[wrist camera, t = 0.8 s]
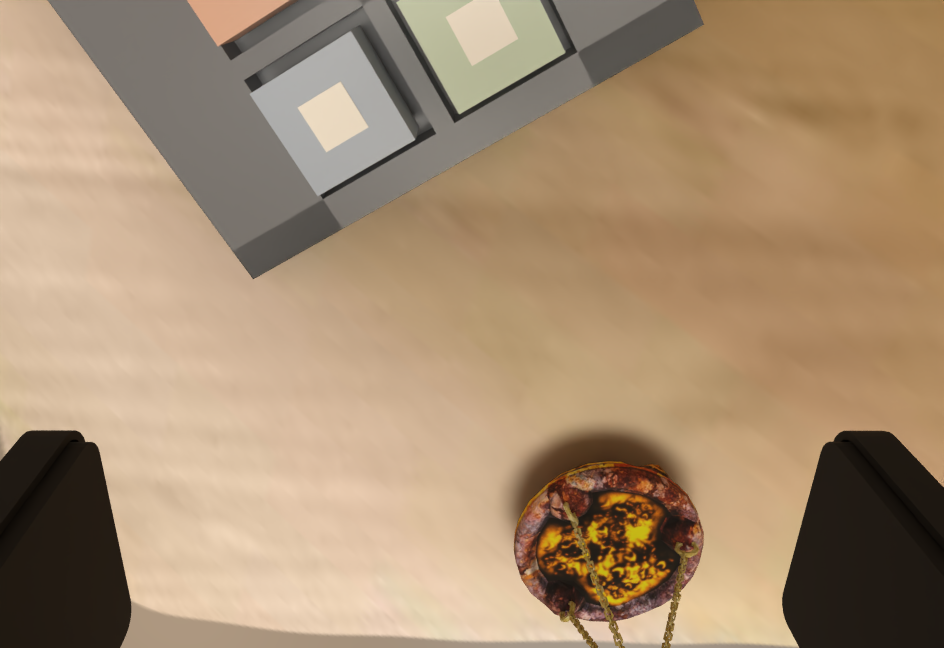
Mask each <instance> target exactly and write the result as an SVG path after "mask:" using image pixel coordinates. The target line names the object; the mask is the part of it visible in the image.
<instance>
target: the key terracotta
mask: <svg viewBox="0 0 944 648" xmlns="http://www.w3.org/2000/svg"><path fill="white" fill-rule="evenodd" d="M187 1H188V3H189V4H190V6H191V7H192V9H193V10H194V12H195V13H196V15H197V16H198V18H199V19H200V21H201V22H202V24H203V25H204V27H205V28H206V30H207V31H208V33H209V34H210V36H211V37H212V39H213V40H214V42H215V43H216V45H217V46H221V45H224V44H226V43H229V42H232V41H235V40H237V39H239V38H240V37H242V36H244V35H245V34H247V33H248V32H250V31H251V30H253V29H254V28H256V27H257V26H259V25H261V24H262V23H264V22H265V21H267V20H268V19H270V18H271V17H273V16H275V15H276V14H278V13H279V12H281V11H282V10H284V9H285V8H287V7H289V6H290V5H292V4H293V3H295V2H296V1H298V0H187Z"/></svg>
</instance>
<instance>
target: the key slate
mask: <svg viewBox="0 0 944 648" xmlns="http://www.w3.org/2000/svg"><path fill="white" fill-rule="evenodd" d="M250 96H251V97H252V99H253V100H254V102H255V103H256V105H257V106H258V108H259V109H260V111H261V112H262V114H263V115H264V117H265V118H266V120H267V121H268V123H269V124H270V126H271V127H272V129H273V130H274V132H275V133H276V135H277V136H278V138H279V139H280V141H281V142H282V144H283V145H284V147H285V148H286V150H287V151H288V153H289V154H290V156H291V157H292V159H293V160H294V162H295V163H296V165H297V166H298V168H299V169H300V171H301V172H302V174H303V175H304V177H305V178H306V180H307V181H308V183H309V184H310V186H311V187H312V189H313V190H314V192H315V193H316V195H317V196H319V195H321V194H323V193H324V192H326V191H328V190H330V189H331V188H333V187H335V186H336V185H338V184H340V183H342V182H343V181H345V180H347V179H349V178H350V177H352V176H354V175H355V174H357V173H359V172H361V171H362V170H364V169H366V168H368V167H369V166H371V165H373V164H374V163H376V162H378V161H380V160H381V159H383V158H385V157H387V156H388V155H390V154H392V153H393V152H395V151H397V150H399V149H400V148H402V147H404V146H406V145H407V144H409V143H411V142H412V141H414V140H415V139H416V136H417V132H418V128H419V125H418V124H417V122H416V120H415V118H414V117H413V115H412V113H411V112H410V110H409V108H408V107H407V105H406V103H405V101H404V100H403V98H402V96H401V95H400V93H399V91H398V89H397V88H396V86H395V84H394V83H393V81H392V79H391V78H390V76H389V74H388V72H387V71H386V69H385V67H384V66H383V64H382V62H381V60H380V59H379V57H378V55H377V54H376V52H375V50H374V49H373V47H372V45H371V43H370V42H369V40H368V38H367V37H366V35H365V33H364V32H363V30H362V28H361V26H360V25H359V26H358V27H356V28H354V29H353V30H351V31H349V32H348V33H346V34H345V35H343V36H341V37H340V38H338V39H337V40H335V41H333V42H332V43H330V44H329V45H327V46H325V47H324V48H322V49H321V50H319V51H317V52H316V53H314V54H313V55H311V56H309V57H308V58H306V59H305V60H303V61H301V62H300V63H298V64H297V65H295V66H293V67H292V68H290V69H289V70H287V71H285V72H284V73H282V74H281V75H279V76H277V77H276V78H274V79H273V80H271V81H269V82H268V83H266V84H265V85H263V86H261V87H260V88H258V89H257V90H255V91H254V92H252V93H250Z"/></svg>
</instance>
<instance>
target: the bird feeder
mask: <svg viewBox="0 0 944 648" xmlns="http://www.w3.org/2000/svg"><path fill="white" fill-rule="evenodd" d="M703 539H704V532H703V529H702V526H701V523H700V520H699V516H698V513H697V510H696V508H695V507H694V505H693V503H692V502H691V500H690V498H689V496H688V495H687V494H686V493H685V492H684V491H683V490H682V489H681V488H680V487H679V486H678V485H677V484H675V483H674V482H673V481H671V479H670V478H669V477H668V475H667V474H666V473H665V471H664V470H663V469H662V468H661V467H660V466H659V465H654V464H649V465H644V466H640V467H637V466H633V465H629V464H625V463H623V462H611V461H607V462H598V463H589V464H585V465H583V466H580V467H577V468H575V469H572V470H570V471H567V472H564V473H562V474H560V475H559V476H557V477H556V478H555V479H554V480H552V481H551V482H550V483H548V484H547V485H546V486H544V487H543V488H542V489H541V491H540V492H538V493H537V494H536V495H535V496H534V497H533V498H532V499H531V500H530V501H529V503H528V504H527V506H526V508H525V509H524V511H523V513H522V515H521V516H520V518H519V520H518V524H517V527H516V530H515V539H514V554H515V559H516V563H517V566H518V570H519V573H520V576H521V579H522V581H523V582H524V584H525V585H526V586H527V588H528V589H529V591H530V592H531V594H533V595H534V596H535V597H536V598H537V599H539V600H540V601H541V602H542V603H544V604H545V605H546V606H547V607H548V608H549V609H550V610H551V611H552V612H553V613H554V614H556V615H559V616H560V620H561V621H562V622H568V621H569V620H571V622H572V623H573V622H574V624H573V625H574V626H575V627H576V628H577V629H578V632H579V633H580V634H582V636H583V639H584V640H585V639H587V640H586V643H587V644H588V645H589V646H590V645H591V646H590V647H591V648H598V646H597V644H596V643H595V641H594V642H592V641H593V639H592V638H591V637H590V636H588V635H589V634H588V632H587V631H585V630H584V627H583V626H582V625H580V622H579V620H578V619H575V618H579V619H583V620H588V621H605V622H609V629H610V630H611V632H612V633H614V636H613V638H614V641H615V645H616V646H619V648H625V647H624V646H622V643H623V639H622V637H621V635H620V633H618V632H617V631H618V626H617V623H616V621H617V620H623V619H628V618H631V617H634V616H636V615H639V614H642V613H645V612H647V611H650V610H652V609H654V608H656V607H659V606H661V605H663V604H664V603H666V602H667V601H669V600H670V599H671V598H672V600H673V601H674V602H671V608H670V609H671V613H669V615H668V621H669V622H668V621H667V626H666V630H665V631H667V632H665V634H664V638H663V639H664V640H665V643H662V648H670V646H671V644H670V643H669V641H671V640H672V637H673V634H672V633H671V631H673V630H674V623H673V621H674V620H675V617H676V612H675V611H676V610H677V608H678V603H677V601H679V600H680V597H681V595H680V594H679V592H681V590H682V589H683V588H684V587H685V586H686V584H687V583H688V582H689V581H690V579H691V578H692V577H693V575H694V573H695V571H696V568H697V566H698V564H699V561H700V557H701V552H702V548H703ZM677 597H678V599H677ZM673 605H674V606H673ZM672 606H673V607H672ZM674 615H675V616H674ZM565 616H566V617H565ZM673 616H674V619H673ZM614 624H615V626H616V629H615V628H614V627H613V626H614ZM669 624H670V625H669ZM611 625H612V627H613V628H612V627H611ZM668 625H669V626H668ZM671 627H672V628H671ZM666 634H667V637H666ZM670 635H671V636H670ZM668 638H670V639H668ZM616 639H617V640H618V639H620V640H621V642H620V641H618V642H616ZM664 645H665V647H664Z"/></svg>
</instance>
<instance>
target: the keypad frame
mask: <svg viewBox="0 0 944 648" xmlns="http://www.w3.org/2000/svg"><path fill="white" fill-rule="evenodd" d="M48 1H49V3H50V4H51V6H52V7H53V8H54V10H55V11H56V12H57V14H58V15H59V16H60V18H61V19H62V20H63V22H64V23H65V25H66V26H67V27H68V29H69V30H70V31H71V33H72V34H73V35H74V37H75V38H76V39H77V41H78V42H79V44H80V45H81V46H82V48H83V49H84V50H85V52H86V53H87V54H88V56H89V57H90V58H91V60H92V61H93V63H94V64H95V65H96V67H97V68H98V69H99V71H100V72H101V73H102V75H103V76H104V77H105V79H106V80H107V82H108V83H109V84H110V86H111V87H112V88H113V90H114V91H115V92H116V94H117V95H118V96H119V98H120V99H121V100H122V102H123V103H124V105H125V106H126V107H127V109H128V110H129V111H130V113H131V114H132V115H133V117H134V118H135V119H136V121H137V122H138V124H139V125H140V126H141V128H142V129H143V130H144V132H145V133H146V134H147V136H148V137H149V138H150V140H151V141H152V143H153V144H154V145H155V147H156V148H157V149H158V151H159V152H160V153H161V155H162V156H163V157H164V159H165V160H166V162H167V163H168V164H169V166H170V167H171V168H172V170H173V171H174V172H175V174H176V175H177V176H178V178H179V179H180V181H181V182H182V183H183V185H184V186H185V187H186V189H187V190H188V191H189V193H190V194H191V195H192V197H193V198H194V200H195V201H196V202H197V204H198V205H199V206H200V208H201V209H202V210H203V212H204V213H205V214H206V216H207V217H208V219H209V220H210V221H211V223H212V224H213V225H214V227H215V228H216V229H217V231H218V232H219V233H220V235H221V236H222V237H223V239H224V240H225V242H226V243H227V244H228V246H229V247H230V248H231V250H232V251H233V252H234V254H235V255H236V256H237V258H238V259H239V261H240V262H241V263H242V265H243V266H244V267H245V269H246V270H247V271H248V273H249V274H250V275H251V277H252V278H253V279H254V278H256V277H258V276H260V275H262V274H263V273H265V272H267V271H269V270H270V269H272V268H274V267H276V266H277V265H279V264H281V263H283V262H285V261H286V260H288V259H290V258H292V257H293V256H295V255H297V254H299V253H300V252H302V251H304V250H306V249H308V248H309V247H311V246H313V245H315V244H316V243H318V242H320V241H322V240H323V239H325V238H327V237H329V236H331V235H332V234H334V233H336V232H338V231H339V230H341V229H343V228H345V227H346V226H348V225H350V224H352V223H354V222H355V221H357V220H359V219H361V218H362V217H364V216H366V215H368V214H369V213H371V212H373V211H375V210H377V209H378V208H380V207H382V206H384V205H385V204H387V203H389V202H391V201H392V200H394V199H396V198H398V197H400V196H401V195H403V194H405V193H407V192H408V191H410V190H412V189H414V188H416V187H417V186H419V185H421V184H423V183H424V182H426V181H428V180H430V179H431V178H433V177H435V176H437V175H439V174H440V173H442V172H444V171H446V170H447V169H449V168H451V167H453V166H454V165H456V164H458V163H460V162H462V161H463V160H465V159H467V158H469V157H470V156H472V155H474V154H476V153H477V152H479V151H481V150H483V149H485V148H486V147H488V146H490V145H492V144H493V143H495V142H497V141H499V140H500V139H502V138H504V137H506V136H508V135H509V134H511V133H513V132H515V131H516V130H518V129H520V128H522V127H523V126H525V125H527V124H529V123H531V122H532V121H534V120H536V119H538V118H539V117H541V116H543V115H545V114H546V113H548V112H550V111H552V110H554V109H555V108H557V107H559V106H561V105H562V104H564V103H566V102H568V101H569V100H571V99H573V98H575V97H577V96H578V95H580V94H582V93H584V92H585V91H587V90H589V89H591V88H592V87H594V86H596V85H598V84H600V83H601V82H603V81H605V80H607V79H608V78H610V77H612V76H614V75H615V74H617V73H619V72H621V71H623V70H624V69H626V68H628V67H630V66H631V65H633V64H635V63H637V62H638V61H640V60H642V59H644V58H646V57H647V56H649V55H651V54H653V53H654V52H656V51H658V50H660V49H661V48H663V47H665V46H667V45H669V44H670V43H672V42H674V41H676V40H677V39H679V38H681V37H683V36H685V35H686V34H688V33H690V32H692V31H693V30H695V29H697V28H699V27H700V26H702V25H704V24H703V21H702V19H701V16H700V14H699V11H698V9H697V6H696V4H695V2H694V0H540V1H541V3H542V5H543V7H544V9H545V11H546V13H547V16H548V18H549V20H550V22H551V24H552V26H553V28H554V30H555V32H556V34H557V36H558V38H559V40H560V42H561V44H562V46H563V48H564V50H565V52H566V53H564V54H563V55H561V56H559V57H557V58H556V59H554V60H552V61H550V62H549V63H547V64H545V65H544V66H542V67H540V68H538V69H537V70H535V71H533V72H532V73H530V74H528V75H526V76H525V77H523V78H521V79H519V80H518V81H516V82H514V83H513V84H511V85H509V86H507V87H506V88H504V89H502V90H500V91H499V92H497V93H495V94H494V95H492V96H490V97H488V98H487V99H485V100H483V101H481V102H480V103H478V104H476V105H475V106H473V107H471V108H469V109H468V110H466V111H464V112H462V113H461V114H459V113H458V112H457V110H456V108H455V106H454V105H453V103H452V101H451V99H450V97H449V96H448V94H447V92H446V90H445V88H444V87H443V85H442V83H441V81H440V80H439V78H438V76H437V74H436V72H435V71H434V69H433V67H432V65H431V64H430V62H429V60H428V58H427V56H426V55H425V53H424V51H423V49H422V48H421V46H420V44H419V42H418V40H417V39H416V37H415V35H414V33H413V31H412V30H411V28H410V26H409V24H408V23H407V21H406V19H405V17H404V15H403V14H402V12H401V10H400V8H399V7H398V5H397V3H396V2H398V1H399V0H298V1H296V2H295V3H293V4H292V5H290V6H289V7H287V8H285V9H284V10H282V11H281V12H279V13H278V14H276V15H275V16H273V17H271V18H270V19H268V20H267V21H265V22H264V23H262V24H261V25H259V26H257V27H256V28H254V29H253V30H251V31H250V32H248V33H247V34H245V35H244V36H242V37H240V38H239V39H237V40H235V41H232V42H229V43H226V44H224V45H221V46H217V45H216V43H215V42H214V40H213V39H212V37H211V36H210V34H209V33H208V31H207V30H206V28H205V27H204V25H203V24H202V22H201V21H200V19H199V18H198V16H197V15H196V13H195V12H194V10H193V9H192V7H191V6H190V4H189V3H188V1H187V0H48ZM359 25H360V26H361V28H362V30H363V32H364V33H365V35H366V37H367V38H368V40H369V42H370V43H371V45H372V47H373V49H374V50H375V52H376V54H377V55H378V57H379V59H380V60H381V62H382V64H383V66H384V67H385V69H386V71H387V72H388V74H389V76H390V78H391V79H392V81H393V83H394V84H395V86H396V88H397V89H398V91H399V93H400V95H401V96H402V98H403V100H404V101H405V103H406V105H407V107H408V108H409V110H410V112H411V113H412V115H413V117H414V118H415V120H416V122H417V124H418V125H419V128H418V132H417V136H416V139H415V140H414V141H412V142H411V143H409V144H407V145H406V146H404V147H402V148H400V149H399V150H397V151H395V152H393V153H392V154H390V155H388V156H387V157H385V158H383V159H381V160H380V161H378V162H376V163H374V164H373V165H371V166H369V167H368V168H366V169H364V170H362V171H361V172H359V173H357V174H355V175H354V176H352V177H350V178H349V179H347V180H345V181H343V182H342V183H340V184H338V185H336V186H335V187H333V188H331V189H330V190H328V191H326V192H324V193H323V194H321V195H319V196H317V195H316V193H315V192H314V190H313V189H312V187H311V186H310V184H309V183H308V181H307V180H306V178H305V177H304V175H303V174H302V172H301V171H300V169H299V168H298V166H297V165H296V163H295V162H294V160H293V159H292V157H291V156H290V154H289V153H288V151H287V150H286V148H285V147H284V145H283V144H282V142H281V141H280V139H279V138H278V136H277V135H276V133H275V132H274V130H273V129H272V127H271V126H270V124H269V123H268V121H267V120H266V118H265V117H264V115H263V114H262V112H261V111H260V109H259V108H258V106H257V105H256V103H255V102H254V100H253V99H252V97H251V96H250V93H252V92H254V91H255V90H257V89H258V88H260V87H261V86H263V85H265V84H266V83H268V82H269V81H271V80H273V79H274V78H276V77H277V76H279V75H281V74H282V73H284V72H285V71H287V70H289V69H290V68H292V67H293V66H295V65H297V64H298V63H300V62H301V61H303V60H305V59H306V58H308V57H309V56H311V55H313V54H314V53H316V52H317V51H319V50H321V49H322V48H324V47H325V46H327V45H329V44H330V43H332V42H333V41H335V40H337V39H338V38H340V37H341V36H343V35H345V34H346V33H348V32H349V31H351V30H353V29H354V28H356V27H358V26H359Z"/></svg>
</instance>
